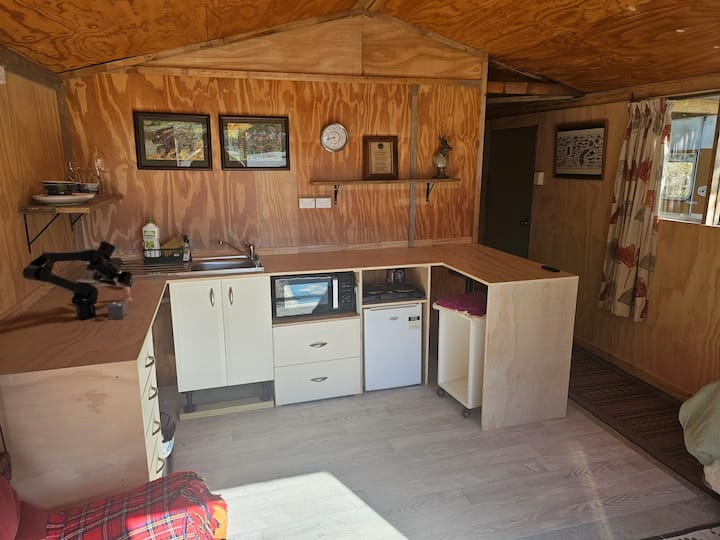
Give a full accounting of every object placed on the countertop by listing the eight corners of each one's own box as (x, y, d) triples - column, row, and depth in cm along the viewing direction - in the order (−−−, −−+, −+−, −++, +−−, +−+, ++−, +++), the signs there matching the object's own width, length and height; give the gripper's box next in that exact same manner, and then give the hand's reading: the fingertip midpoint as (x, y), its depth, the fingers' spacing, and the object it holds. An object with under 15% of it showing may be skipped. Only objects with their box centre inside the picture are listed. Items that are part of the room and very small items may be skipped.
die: (123, 319, 218) (122, 305, 216) (108, 319, 216) (107, 305, 215) (127, 315, 223) (125, 301, 222) (112, 315, 222) (111, 302, 221)
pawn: (125, 301, 239) (123, 279, 236) (121, 300, 241) (119, 277, 239) (133, 300, 242) (131, 277, 240) (128, 298, 244) (126, 276, 242)
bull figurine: (123, 284, 277) (122, 270, 275) (136, 288, 268) (134, 273, 267) (116, 286, 273) (114, 271, 272) (128, 290, 265) (126, 275, 263)
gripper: (127, 254, 227) (147, 273, 239) (95, 251, 233) (115, 270, 245) (115, 275, 221) (136, 293, 234) (82, 271, 227) (104, 289, 240)
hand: (123, 285), depth 238 cm, fingers open, 9 cm apart
